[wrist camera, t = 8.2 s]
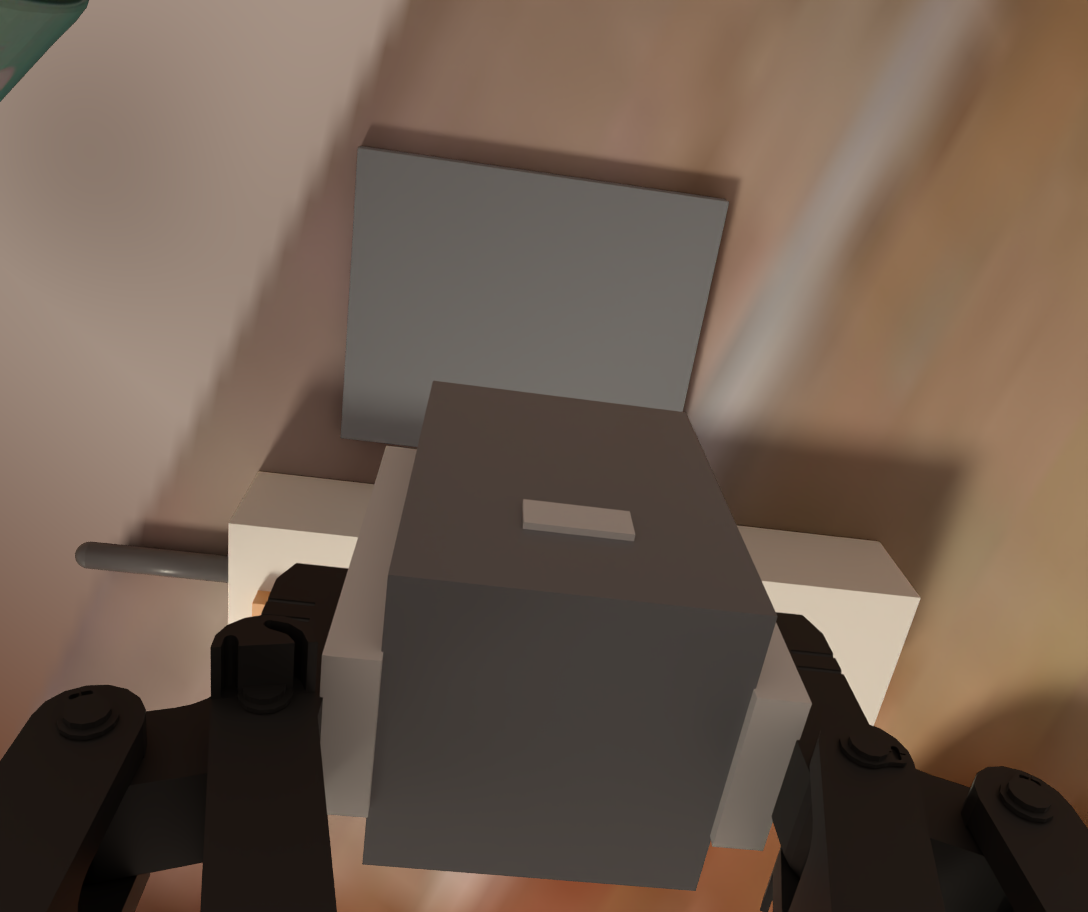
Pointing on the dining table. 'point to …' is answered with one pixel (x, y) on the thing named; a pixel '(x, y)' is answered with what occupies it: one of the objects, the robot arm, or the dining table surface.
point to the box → (31, 34)
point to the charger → (561, 645)
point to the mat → (518, 288)
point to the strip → (338, 512)
